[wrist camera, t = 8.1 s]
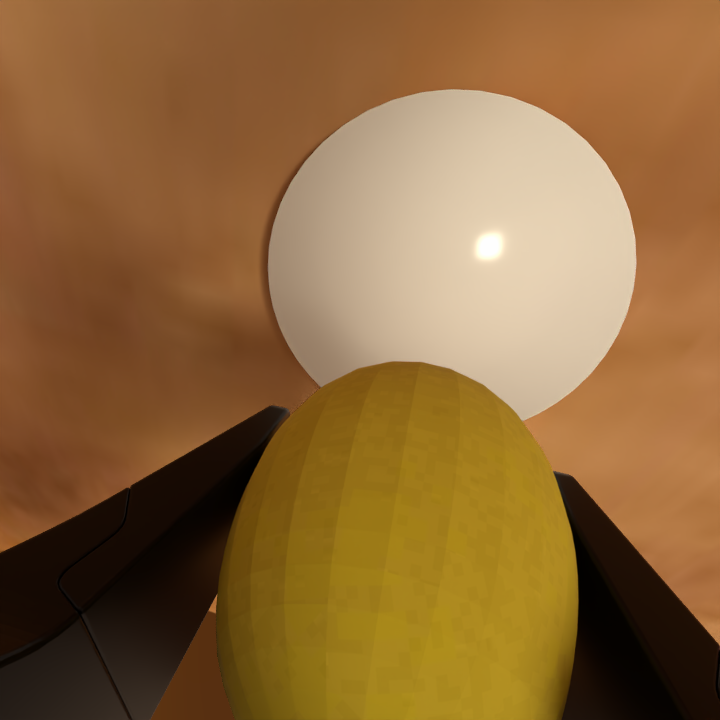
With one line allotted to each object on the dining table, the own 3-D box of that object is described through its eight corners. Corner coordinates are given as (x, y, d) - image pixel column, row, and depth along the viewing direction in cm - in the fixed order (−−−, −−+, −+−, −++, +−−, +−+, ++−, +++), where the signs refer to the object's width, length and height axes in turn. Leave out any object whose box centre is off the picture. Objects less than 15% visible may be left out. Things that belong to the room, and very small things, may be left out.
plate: (708, 121, 13) (726, 122, 12) (547, 450, 20) (551, 465, 19) (278, 66, 14) (266, 62, 14) (275, 388, 22) (268, 399, 21)
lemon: (444, 504, 12) (420, 966, 6) (285, 410, 12) (52, 799, 5) (589, 384, 9) (892, 1052, 3) (385, 251, 9) (140, 681, 2)
